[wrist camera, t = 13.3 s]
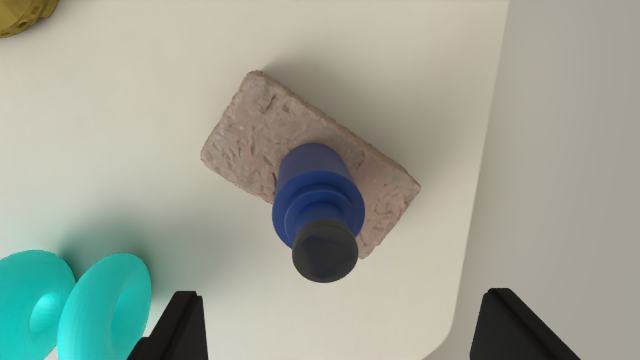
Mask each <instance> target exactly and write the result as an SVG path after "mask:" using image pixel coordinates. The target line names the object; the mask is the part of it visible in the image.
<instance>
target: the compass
mask: <svg viewBox="0 0 640 360" xmlns="http://www.w3.org/2000/svg"><path fill="white" fill-rule="evenodd" d="M57 3H58V0H0V38H6V37H10V36H13V35H16V34H18V33H20V32H22V31H24V30H26V29H27V28H29V27H30V26H31V25H33V24H34V23H35V22H36V21H37V20H38V19H39V18H40V17H45V18H49V17H50V15H51V14H52V12H53V11H54V9H55V7H56V5H57Z"/></svg>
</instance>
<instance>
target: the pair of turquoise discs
mask: <svg viewBox="0 0 640 360" xmlns="http://www.w3.org/2000/svg"><path fill="white" fill-rule="evenodd" d="M150 304H151V279H150V275H149V271H148V269H147V267H146V265H145V264H144V262H143V261H142V260H141V259H140V258H138V257H137V256H135V255H132V254H128V253H118V254H113V255H110V256H107V257H105V258H103V259H101V260H100V261H98V262H96V263H95V264H94V265H92V266H91V267H90V268H89V269H88V270H87V271H86V272H85V273H84V274H83V276H82V277H81V278H80V279H79V280H78V282H77V283H76V284H75V279H74V275H73V273H72V271H71V269H70V267H69V265H68V264H67V263H66V262H65V261H64V260H63V259H62V258H61V257H59V256H58V255H56V254H54V253H51V252H48V251H43V250H28V251H23V252H18V253H15V254H12V255H10V256H8V257H5V258H3V259H1V260H0V360H44V359H45V358H46V357H47V356H48V354H49V353H50V352H51V351H52V350H53V349H54V347H55V346H56V345H57V354H58V358H59V360H126V359H127V358H128V356H129V354H130V353H131V351H132V350H133V348H134V346H135V345H136V343H137V342H138V341H139V339H141V338H142V335H143V333H144V330H145V327H146V323H147V320H148V316H149V311H150Z"/></svg>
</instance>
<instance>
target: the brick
mask: <svg viewBox="0 0 640 360" xmlns="http://www.w3.org/2000/svg"><path fill="white" fill-rule="evenodd" d="M307 143H319V144H324V145H326V146H329V147H330V148H332V149H333V150H335V151H336V152H337V153H338V154H339V155H340V156H341V158H342V160H343V161H344V163H345V165H346V167H347V169H348V171H349V172H350V174H351V176H352V178H353V180H354V182H355V184H356V185H357V187H358V189H359V191H360V193H361V195H362V197H363V200H364V204H365V220H364V223H363V226H362V229H361V231H360V232H359V234H358V236H357V237H356V238H355V239H356V242H357V245H358V250H359V254H358V258H360V259H363V258H365V257H367V256H368V255H369V254H370V253H371V252H372V251H373V249H374V248H375V246H378V245H379V244H380V243H381V241H382V240H383V239H384V238H385V236H386V235H387V234H388V233H389V232H390V230H391V229H392V228H393V227H394V226H395V225H396V223H397V222H398V221H399V219H400V217H401V216H402V214H403V213H404V211H405V210H406V208H407V207H408V206H409V204H410V203H411V202H412V200H413V199H414V198H415V196H416V195H417V194H418V193H419V191H420V189H421V187H420V185H419V183H418V182H417V181H416V180H415V179H414V178H413V177H412V176H411V175H409V173H408V172H407V171H406V170H405V169H404V168H403V167H401V166H400V165H399V164H397V163H395V162H394V161H393V160H391V159H389V158H388V157H386V156H385V155H383V154H381V153H380V152H378V151H377V150H376V149H375V148H373V147H372V146H371V145H369V144H367V143H366V142H365V141H363V140H362V139H361V138H359V137H357V136H356V135H355V134H353V133H352V132H350V131H349V130H347V129H345V128H344V127H343V126H341V125H339V124H338V123H337V122H335V121H334V120H332V119H331V118H330V117H328V116H326V115H325V114H324V113H323V112H321V111H319V110H318V109H316V108H315V107H313V106H311V105H310V104H308V103H307V102H306V101H304V100H303V99H301V98H300V97H298V96H297V95H295V94H294V93H293V92H291V91H290V90H289V89H287V88H286V87H285V86H283V85H281V84H280V83H278V82H276V81H275V80H273V79H272V78H270V77H268V76H267V75H265V74H264V73H262V72H260V71H258V70H256V71H252V72H249V73H248V74H247V75H246V77H245V78H244V80H243V81H242V83H241V86H240V89H239V91H238V92H237V93H236V94H235V95H234V96H233V98H232V102H231V103H230V105H229V106H228V107H227V109H226V110H225V112H224V114H223V116H222V119H221V120H220V122H219V124H218V125H217V126H216V127H215V128H214V130H213V131H212V133H211V134H210V136H209V138H208V139H207V141H206V142H205V144H204V146H203V148H202V151H201V160H202V161H203V162H204V164H205V165H206V166H207V167H208V168H209V169H211V170H213V171H214V172H216V173H218V174H219V175H221V176H222V177H224V178H225V179H226V180H228V181H230V182H232V183H234V184H235V185H236V186H238V187H239V188H241V189H243V190H244V191H246V192H248V193H250V194H253V195H256V196H258V197H261V198H262V199H263V200H265V201H266V202H268V203H271V204H273V202H274V196H275V190H276V185H277V179H278V173H279V168H280V165H281V163H282V161H283V159H284V157H285V156H286V155H287V154H288V153H289V152H290V151H291V150H292V149H294V148H296V147H298V146H300V145H303V144H307Z"/></svg>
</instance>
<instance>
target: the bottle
mask: <svg viewBox="0 0 640 360" xmlns="http://www.w3.org/2000/svg"><path fill="white" fill-rule="evenodd" d="M364 220H365V204H364V200H363V197H362V195H361V193H360V191H359V189H358V187H357V185H356V184H355V182H354V180H353V178H352V176H351V174H350V172H349V171H348V169H347V167H346V165H345V163H344V161H343V160H342V158H341V156H340V155H339V154H338V153H337V152H336V151H335V150H333V149H332V148H330V147H329V146H326V145H324V144H319V143H307V144H303V145H300V146H298V147H296V148H294V149H292V150H291V151H290V152H289V153H288V154H287V155H286V156H285V157H284V159H283V161H282V163H281V165H280V168H279V173H278V179H277V185H276V190H275V196H274V202H273V208H272V221H273V225H274V228H275V231H276V233H277V234H278V236H279V237H280V239H281V240H282V241H283V242H284V243H285V244H286V245H287V246H288V247H290V248H291V249H292V259H293V263H294V266H295V267H296V269H297V270H298V272H299V273H300V274H301V275H302V276H304V277H305V278H307V279H309V280H311V281H314V282H319V283H329V282H334V281H337V280H339V279H341V278H343V277H345V276H346V275H347V274H349V273H350V272H351V270H352V269H353V268H354V266H355V264H356V262H357V259H358V254H359V250H358V245H357V242H356V239H355V238H356V237H357V236H358V234H359V232H360V231H361V229H362V226H363V223H364Z"/></svg>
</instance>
